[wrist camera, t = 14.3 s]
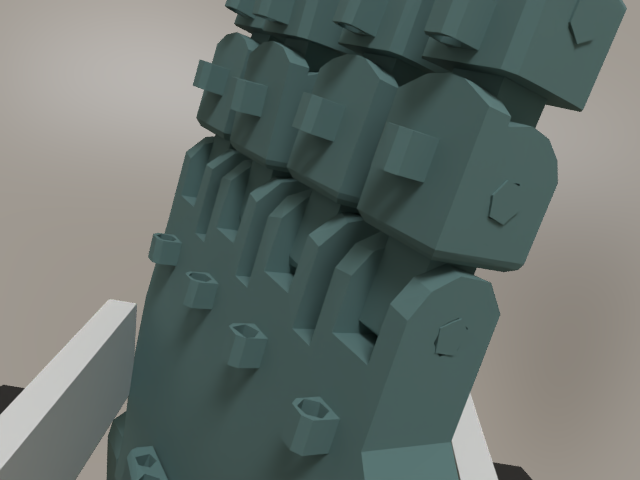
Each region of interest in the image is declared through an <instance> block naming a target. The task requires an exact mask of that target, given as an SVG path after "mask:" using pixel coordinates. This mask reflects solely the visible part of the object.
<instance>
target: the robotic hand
mask: <svg viewBox="0 0 640 480" xmlns="http://www.w3.org/2000/svg"><path fill="white" fill-rule="evenodd" d="M225 6H226V7H227V8H228V9H230V10H232V11H233V12H235V13H237V14H238V15H237V18H236V20H235V23H234V24H235V25H236V26H238V27H240V28H242V29H244V30H246V31H248V32H249V33H251V34H252V36H251V38H249V37H247V36H245V35H242V34H240V33H237V32H236V33H232V34H228V35H226V36H225V37H224V38H223V39H222V40H221V41H220V42H219V43H218V44H217V47H216V51H215V54H214V58H213V61H212V63H209V62H205V61H203V60H200V61H199V65H198V68H197V72H196V76H195V79H194V83H193V86H196V87H198V88H201V89H204V93H203V96H202V100H201V103H200V107H199V110H198V114H197V120H198V121H199V123H200V124H201V126H202V127H204V128H206V129H208V130H209V131H211V132H213V133H214V134H216V135H215V137H205V138H204V139H203V140H201V141H200V142H199V143H197V144H196V145H195V146H194V147H192V148H191V149H189V150H188V151H187V152H186V155H185V159H184V163H183V166H182V171H181V174H180V178H179V182H178V186H177V189H176V193H175V197H174V201H173V205H172V209H171V213H170V217H169V220H168V224H167V227H166V231H165V234H162V233H156V234H153V238H152V242H151V247H150V251H149V256H148V257H149V259H150V260H151V261H152V262H155V263H156V265H155V268H154V271H153V275H152V278H151V282H150V285H149V289H148V292H147V295H146V300H145V305H144V310H143V315H142V321H141V325H140V330H139V336H138V341H137V346H136V351H135V356H134V365H133V372H132V378H131V385H130V392H129V396H128V403H127V411H126V412H124V413H123V414H121V415H120V416H119V417H117V418H116V419H114V420H113V422H112V425H111V429H110V432H109V435H108V452H107V480H459V479H458V474H457V469H456V464H455V459H454V454H453V449H452V444H451V441H452V438H453V436H454V433H455V430H456V428H457V425H458V423H459V420H460V417H461V415H462V412H463V410H464V407H465V405H466V402H467V399H468V397H469V394H470V391H471V389H472V386H473V384H474V381H475V378H476V376H477V373H478V371H479V368H480V366H481V363H482V360H483V358H484V355H485V353H486V350H487V347H488V345H489V342H490V340H491V337H492V334H493V332H494V329H495V327H496V324H497V321H498V319H499V316H500V312H499V309H498V305H497V301H496V298H495V294H494V292H493V288H492V285H491V283H490V282H488V281H485V280H483V279H481V278H479V277H477V276H474V273H475V270H476V268H483V269H489V270H496V271H501V272H507V271H514V270H518V269H519V268H521V267H522V266H523V265H524V263H525V261H526V258H527V256H528V253H529V251H530V248H531V246H532V244H533V241H534V239H535V237H536V234H537V232H538V229H539V227H540V224H541V222H542V220H543V217H544V215H545V213H546V210H547V208H548V205H549V203H550V201H551V198H552V196H553V193H554V191H555V189H556V186H557V184H558V176H557V174H558V173H557V159H556V156H555V154H554V151H553V148H552V146H551V143H550V141H549V139H548V138H547V137H545V136H544V135H543V134H542V133H540V132H539V131H538V130H536V129H535V127H536V125H537V122H538V120H539V118H540V116H541V113H542V111H543V109H544V106H545V104H546V105H551V106H555V107H560V108H565V109H570V110H574V111H579V112H581V111H582V110H583V108H584V106H585V104H586V102H587V99H588V97H589V95H590V92H591V90H592V87H593V85H594V83H595V81H596V79H597V76H598V74H599V71H600V69H601V67H602V65H603V62H604V60H605V58H606V55H607V53H608V51H609V48H610V46H611V44H612V41H613V39H614V37H615V35H616V32H617V30H618V28H619V25H620V23H621V21H622V18H623V16H624V14H625V11H626V9H627V8H626V6H625V4H624V3H623V1H622V0H227V1H226V4H225Z"/></svg>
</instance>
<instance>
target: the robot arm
mask: <svg viewBox="0 0 640 480" xmlns="http://www.w3.org/2000/svg"><path fill="white" fill-rule="evenodd" d="M136 312H137V304H136V303H131V302H124V301H118V300H112V299H109V300H108V301H107V302H106V303H105V304H104V305H103V306H102V307H101V308H100V309H99V310H98V311H97V313H96V314H95V315H94V316H93V317H92V318H91V319H90V320H89V321H88V322H87V323H86V324H85V325H84V326H83V327H82V328H81V330H80V331H79V332H78V333H77V334H76V335H75V336H74V337H73V338H72V339H71V340H70V341H69V342H68V343H67V345H65V347H64V348H63V349H62V350H61V351H60V352H59V353H58V354H57V355H56V356H55V357H54V358H53V359H52V360H51V361H50V362H49V364H48V365H47V366H46V367H45V368H44V369H43V370H42V371H41V372H40V373H39V374H38V375H37V376H36V377H35V378H34V379H33V380H32V382H31V383H30V384H29V385H28V386H27V387H26V388H19V387H13V386H7V385H2V386H0V480H76V478H77V477H78V475H79V473H80V472H81V470H82V469H83V467H84V466H85V464H86V462H87V461H88V459H89V458H90V456H91V454H92V453H93V451H94V450H95V448H96V447H97V445H98V443H99V442H100V440H101V439H102V437H103V436H104V434H105V432H106V431H107V429H108V428H109V426H110V424H111V423H112V421H113V420H114V418H115V417H116V415H117V413H118V412H119V410H120V409H121V407H122V405H123V404H124V402H125V401H126V399H127V398H128V396H129V392H130V385H131V378H132V372H133V365H134V351H135V331H136ZM451 444H452V449H453V454H454V459H455V464H456V469H457V474H458V479H459V480H532V479H531V478H530V477H529V475H528V474H527V473H526V472H525V471H524V470H523V469H522V468H521V467H518V466H511V465H506V464H499V463H493V462H492V459H491V456H490V453H489V450H488V447H487V443H486V441H485V437H484V434H483V431H482V428H481V425H480V422H479V419H478V416H477V412H476V409H475V406H474V403H473V400H472V397H471V394H469V397H468V399H467V402H466V405H465V407H464V410H463V412H462V415H461V417H460V420H459V423H458V425H457V428H456V430H455V433H454V436H453V438H452V441H451Z"/></svg>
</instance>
